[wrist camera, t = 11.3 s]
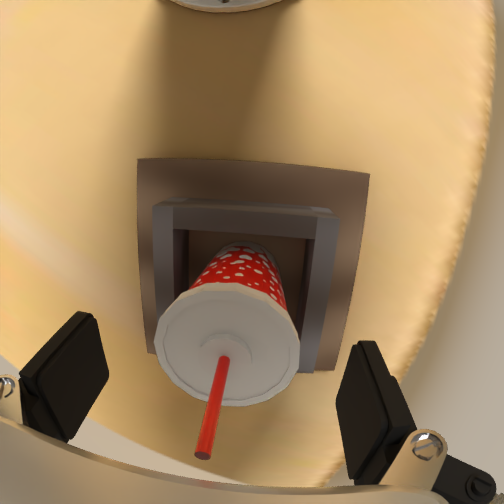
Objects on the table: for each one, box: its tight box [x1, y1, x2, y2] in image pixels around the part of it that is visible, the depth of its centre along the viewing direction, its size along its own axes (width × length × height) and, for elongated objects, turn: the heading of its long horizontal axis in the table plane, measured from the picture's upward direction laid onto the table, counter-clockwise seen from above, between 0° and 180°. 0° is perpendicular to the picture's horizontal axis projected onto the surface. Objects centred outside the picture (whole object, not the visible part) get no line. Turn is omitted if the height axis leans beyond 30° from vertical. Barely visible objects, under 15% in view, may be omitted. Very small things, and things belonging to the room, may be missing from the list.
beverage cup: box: [154, 241, 300, 460], centre depth 14 cm, size 6×6×14 cm
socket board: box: [137, 158, 370, 373], centre depth 20 cm, size 15×15×4 cm
